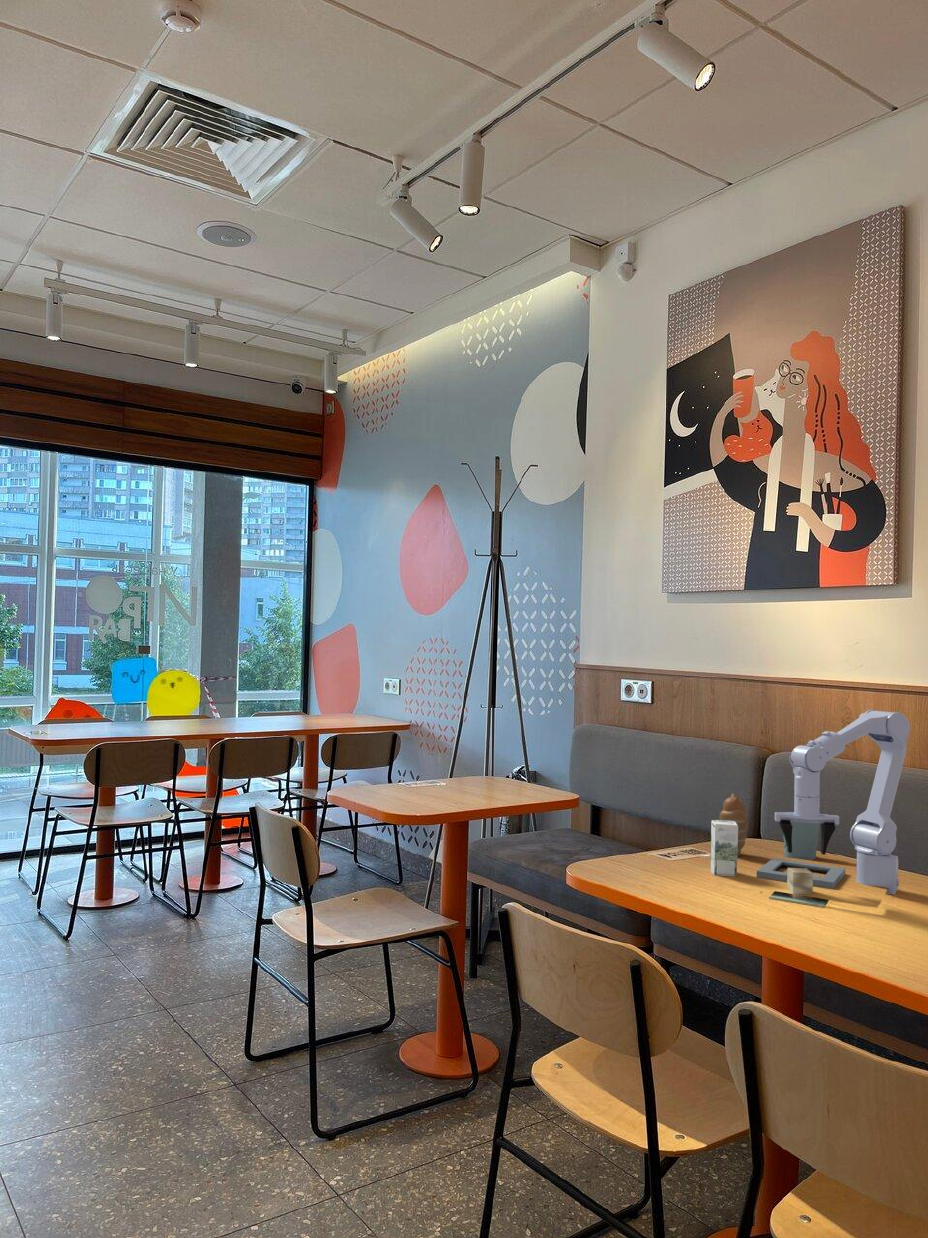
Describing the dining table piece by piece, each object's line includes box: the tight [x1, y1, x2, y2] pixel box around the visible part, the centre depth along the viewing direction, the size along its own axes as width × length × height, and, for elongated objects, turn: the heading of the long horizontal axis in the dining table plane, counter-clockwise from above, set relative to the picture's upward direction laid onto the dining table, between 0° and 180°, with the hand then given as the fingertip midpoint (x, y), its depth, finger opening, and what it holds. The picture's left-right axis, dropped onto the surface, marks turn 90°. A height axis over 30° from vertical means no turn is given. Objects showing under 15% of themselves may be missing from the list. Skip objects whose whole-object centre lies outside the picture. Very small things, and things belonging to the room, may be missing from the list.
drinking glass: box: [782, 819, 821, 861], centre depth 259 cm, size 10×10×12 cm
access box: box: [756, 857, 846, 890], centre depth 230 cm, size 18×18×3 cm
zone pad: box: [768, 890, 830, 908], centre depth 214 cm, size 12×10×1 cm
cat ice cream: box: [719, 792, 749, 857], centre depth 253 cm, size 9×8×18 cm
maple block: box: [786, 867, 814, 899], centre depth 214 cm, size 4×4×6 cm
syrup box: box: [709, 819, 738, 877], centre depth 230 cm, size 6×6×14 cm
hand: (806, 852), depth 218 cm, fingers open, 7 cm apart
